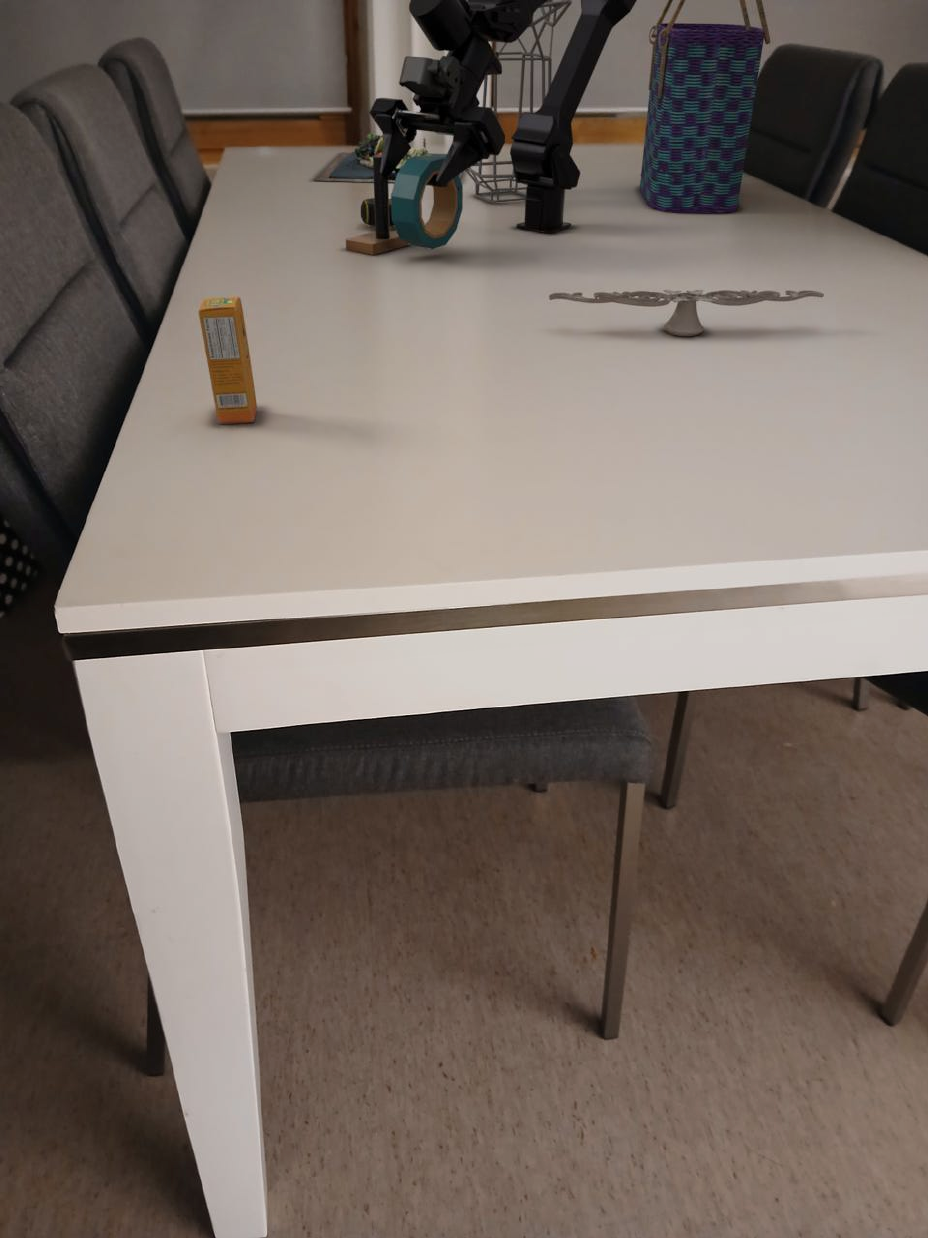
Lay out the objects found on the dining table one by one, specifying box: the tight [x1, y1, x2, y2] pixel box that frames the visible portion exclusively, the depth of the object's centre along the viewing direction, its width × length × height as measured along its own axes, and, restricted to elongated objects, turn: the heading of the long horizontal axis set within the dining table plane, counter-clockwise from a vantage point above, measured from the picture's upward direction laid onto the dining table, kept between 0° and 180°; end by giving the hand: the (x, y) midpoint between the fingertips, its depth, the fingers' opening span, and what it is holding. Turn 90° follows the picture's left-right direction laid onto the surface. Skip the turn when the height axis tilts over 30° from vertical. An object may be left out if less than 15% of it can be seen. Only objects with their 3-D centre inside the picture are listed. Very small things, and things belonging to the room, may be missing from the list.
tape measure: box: [360, 197, 395, 228], centre depth 149 cm, size 7×7×4 cm
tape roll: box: [390, 155, 464, 250], centre depth 130 cm, size 11×4×11 cm, turn 145°
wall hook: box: [548, 289, 825, 337], centre depth 106 cm, size 5×30×4 cm, turn 94°
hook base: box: [345, 230, 409, 256], centre depth 138 cm, size 8×5×2 cm, turn 145°
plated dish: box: [314, 132, 464, 183], centre depth 194 cm, size 35×28×7 cm
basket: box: [639, 0, 771, 215], centre depth 161 cm, size 26×18×40 cm
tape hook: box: [373, 155, 448, 239], centre depth 132 cm, size 2×12×12 cm, turn 55°
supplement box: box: [197, 296, 258, 425], centre depth 82 cm, size 3×3×10 cm
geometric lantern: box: [464, 0, 573, 204], centre depth 160 cm, size 16×16×35 cm
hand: (409, 180), depth 126 cm, fingers open, 9 cm apart
